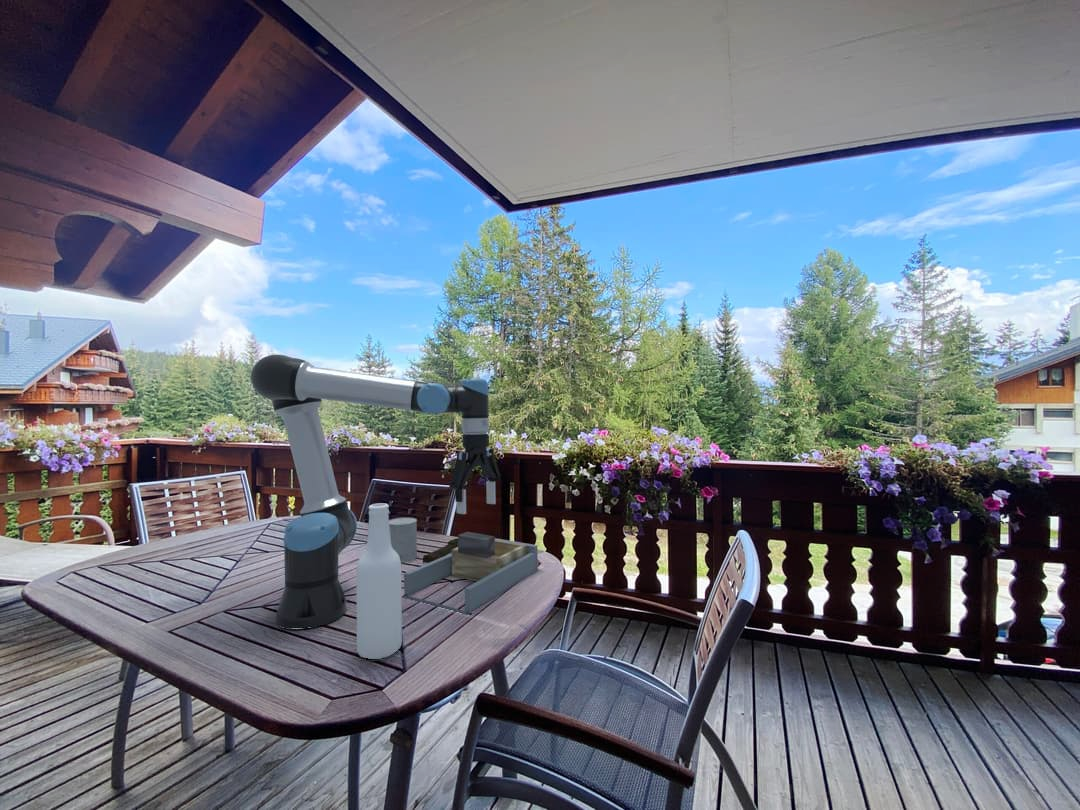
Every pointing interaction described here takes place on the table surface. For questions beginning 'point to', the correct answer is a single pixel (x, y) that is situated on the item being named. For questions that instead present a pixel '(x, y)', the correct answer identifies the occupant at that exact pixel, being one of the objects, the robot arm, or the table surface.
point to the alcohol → (379, 590)
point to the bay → (479, 589)
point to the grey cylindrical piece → (404, 537)
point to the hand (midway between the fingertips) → (476, 508)
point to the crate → (483, 555)
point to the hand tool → (441, 551)
